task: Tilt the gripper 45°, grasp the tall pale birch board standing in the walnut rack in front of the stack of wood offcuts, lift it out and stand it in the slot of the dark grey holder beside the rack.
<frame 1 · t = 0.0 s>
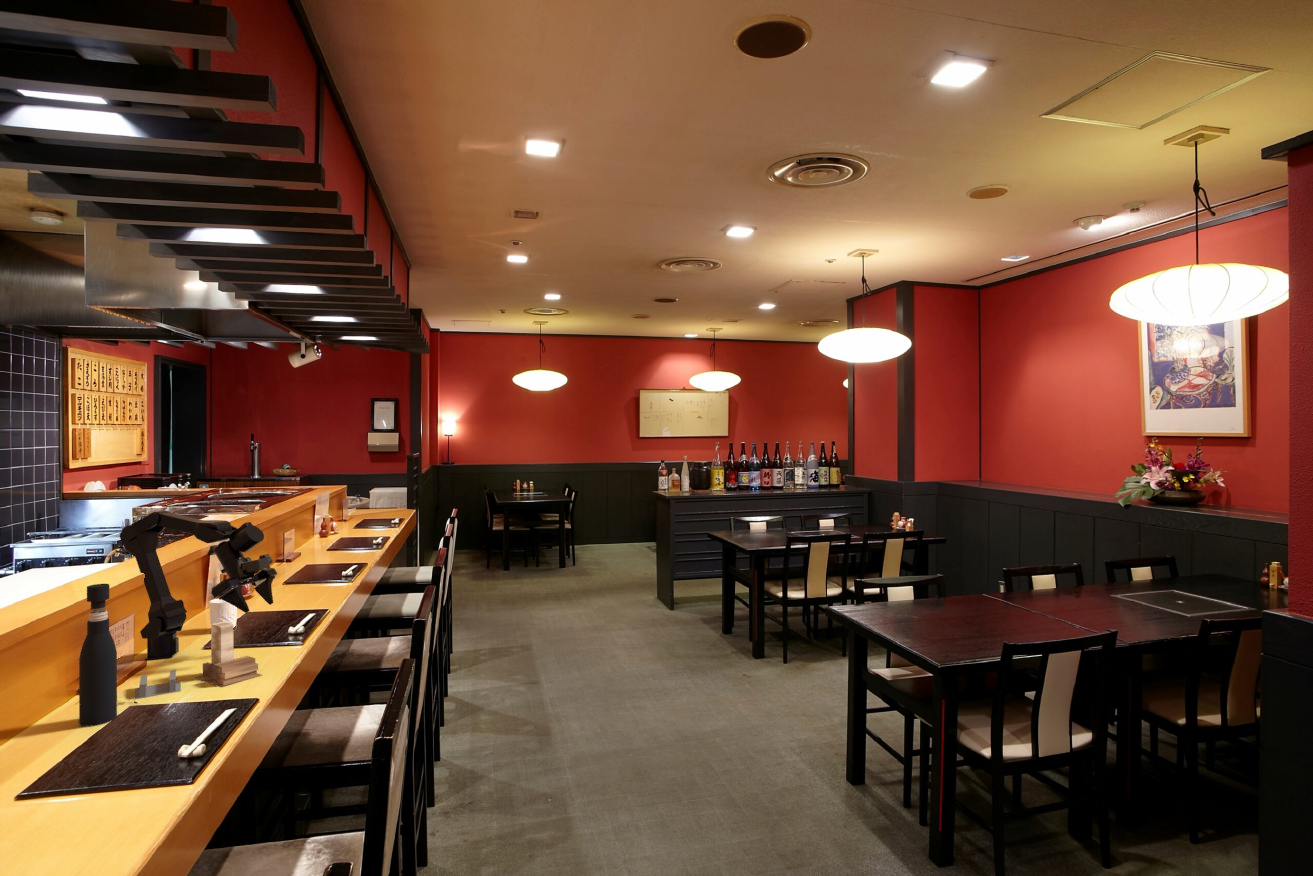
hand: (260, 607, 188), 15 cm above the worktop, tool tilted 35°, fingers open, 9 cm apart
grey holder: (158, 693, 164), on the worktop
white cup: (223, 631, 218), on the worktop
offcut stack: (236, 678, 171), point 1 cm above the worktop, touching walnut rack
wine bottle: (98, 721, 148), on the worktop
birch board: (222, 674, 174), point 1 cm above the worktop, touching walnut rack
walnut rack: (222, 677, 174), on the worktop
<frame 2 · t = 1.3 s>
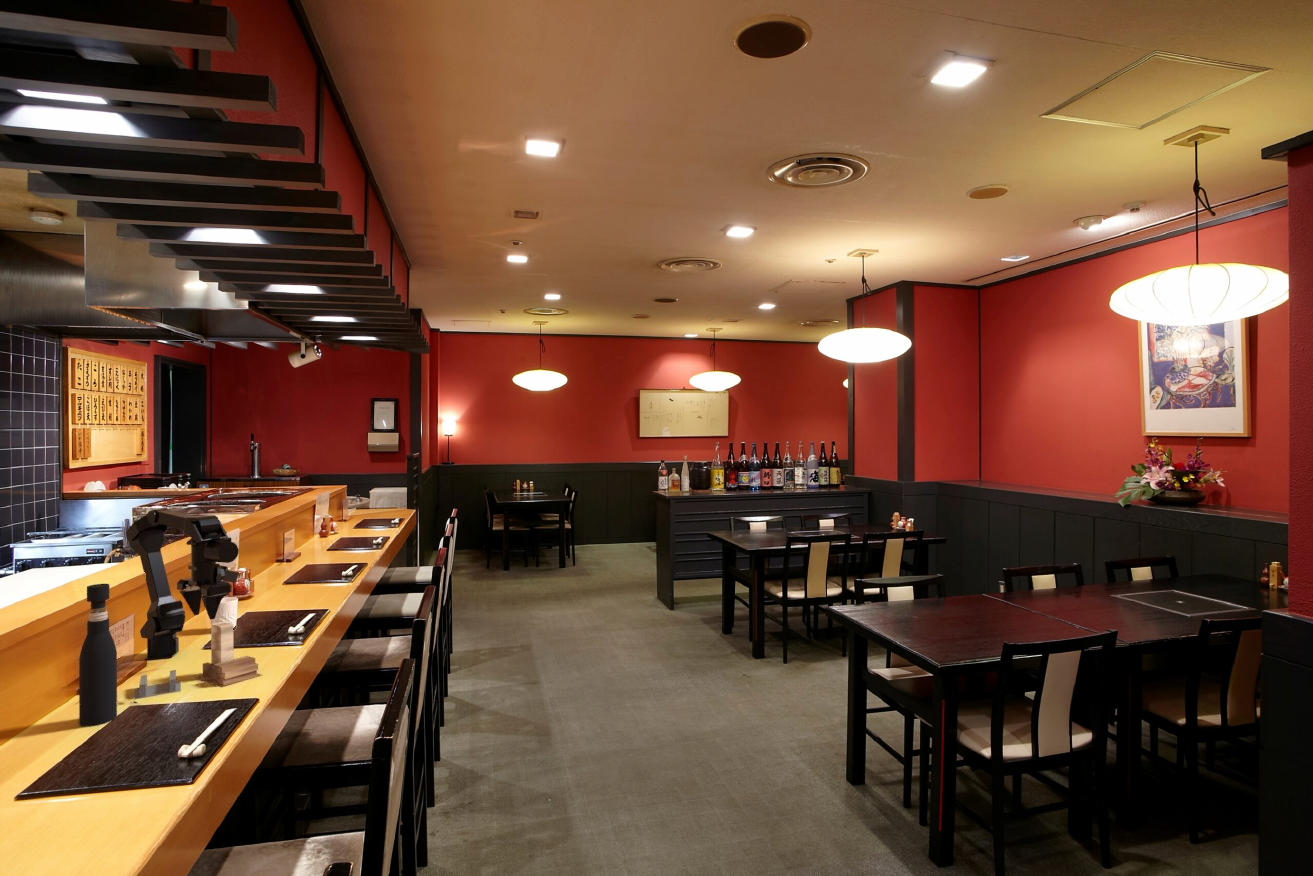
hand: (204, 617, 186), 13 cm above the worktop, tool pointing down, fingers open, 9 cm apart
nothing on the worktop moved.
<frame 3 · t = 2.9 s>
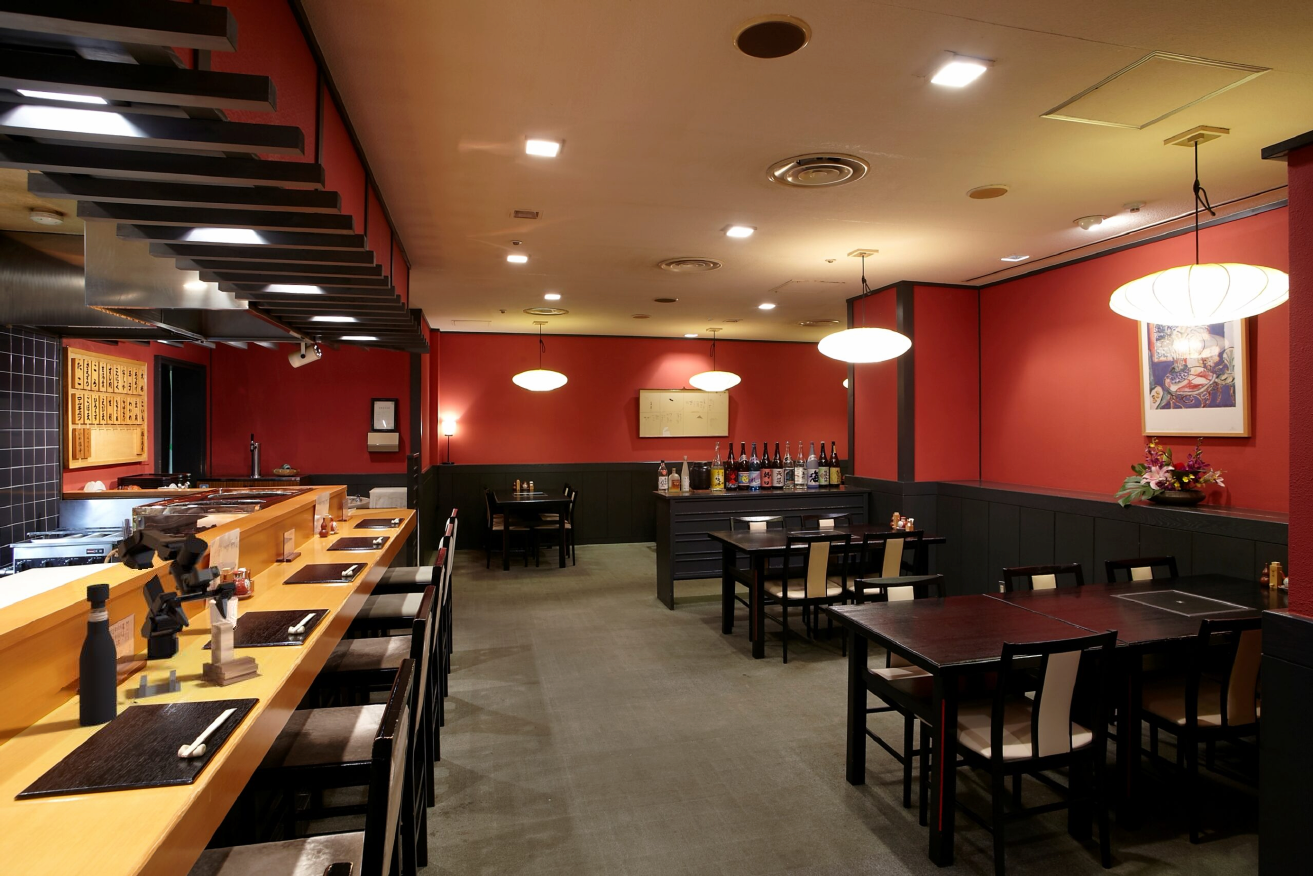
hand: (207, 622, 179), 13 cm above the worktop, tool tilted 45°, fingers open, 9 cm apart
nothing on the worktop moved.
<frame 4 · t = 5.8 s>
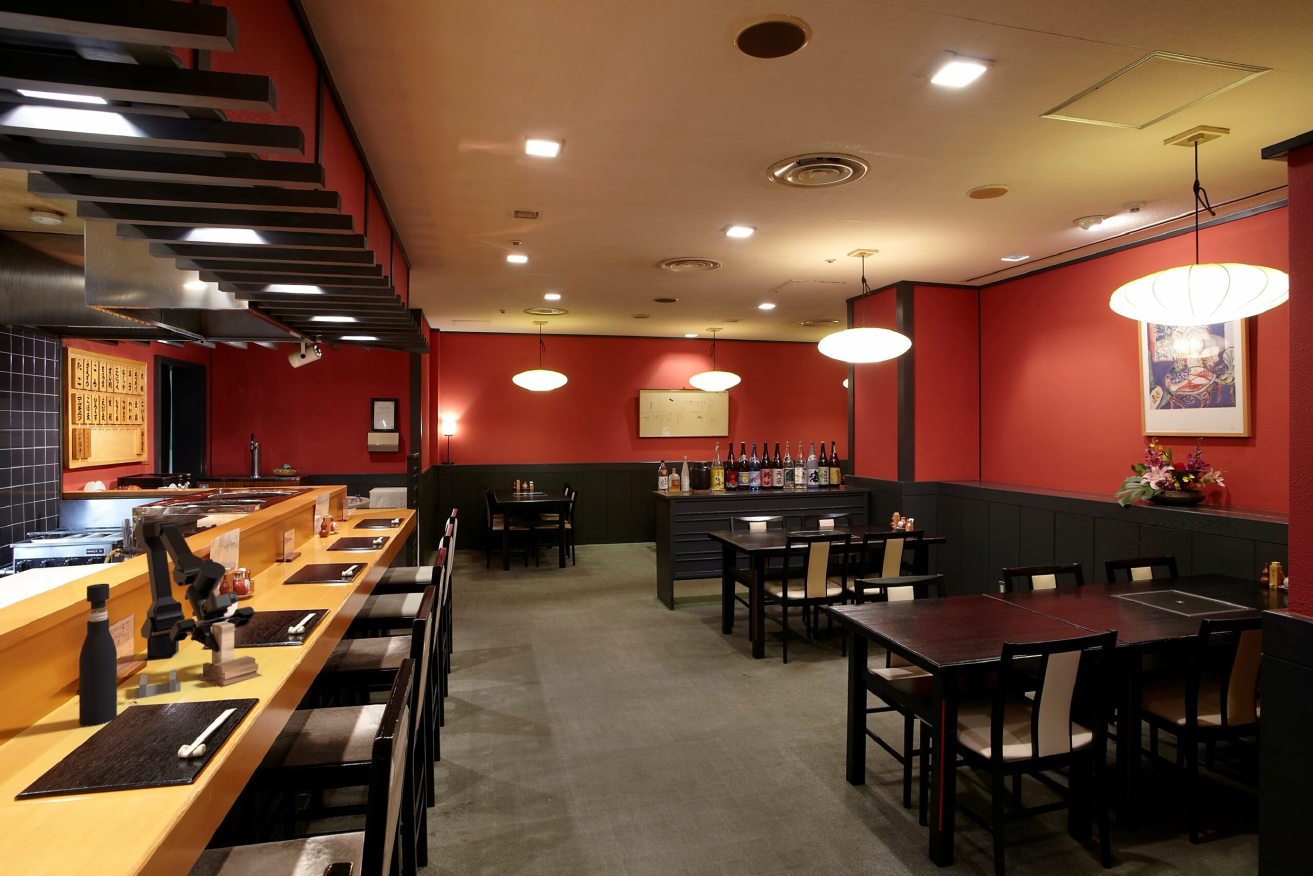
hand: (225, 649, 174), 8 cm above the worktop, tool tilted 45°, fingers closed on birch board, 3 cm apart
birch board: (222, 673, 174), point 1 cm above the worktop, touching gripper, walnut rack
everything else where it was.
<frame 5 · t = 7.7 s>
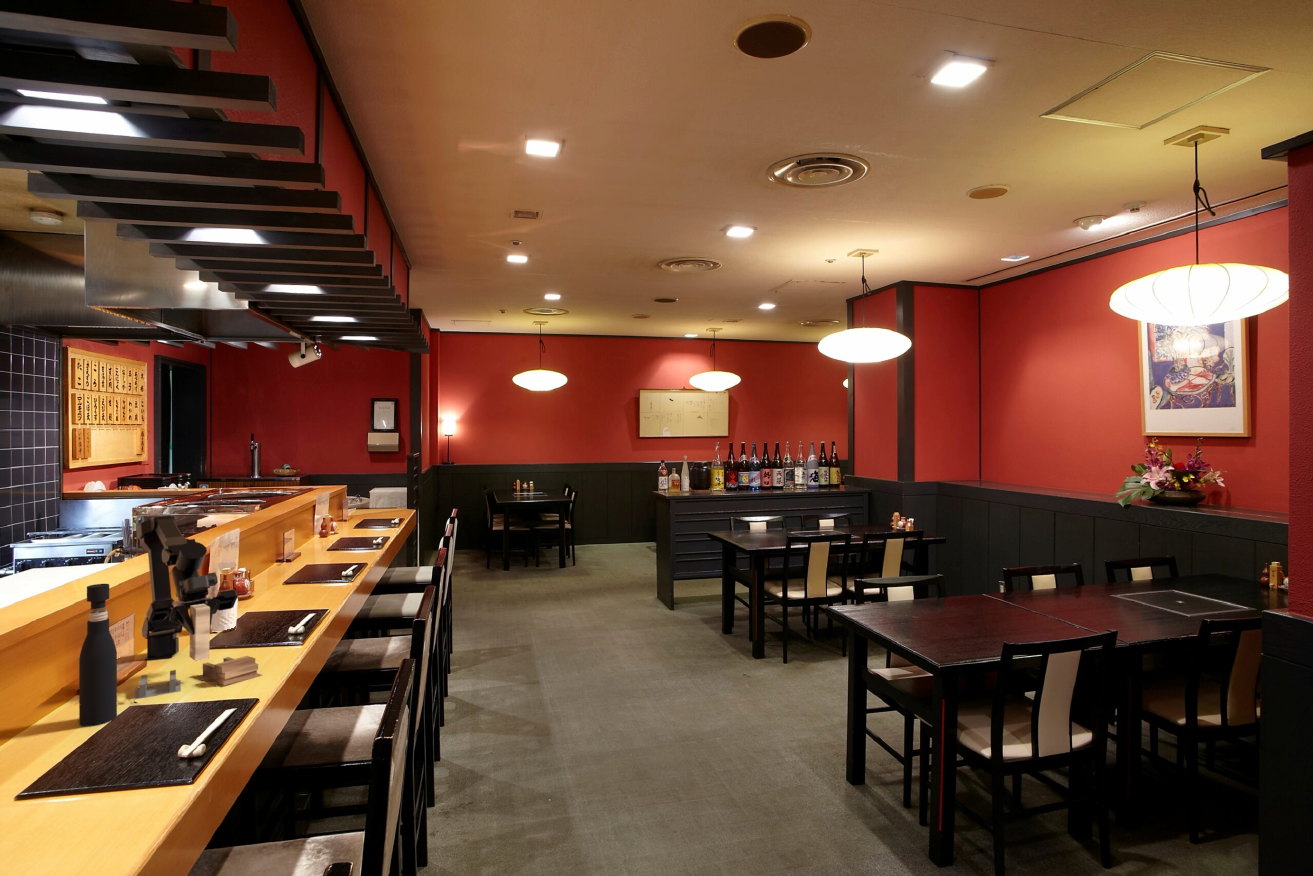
hand: (201, 632, 169), 14 cm above the worktop, tool tilted 45°, fingers closed on birch board, 3 cm apart
birch board: (199, 657, 170), point 7 cm above the worktop, touching gripper
everything else where it was.
when the fingers open (9 cm above the worktop, at t = 9.6 s): birch board drops 1 cm, resting on grey holder.
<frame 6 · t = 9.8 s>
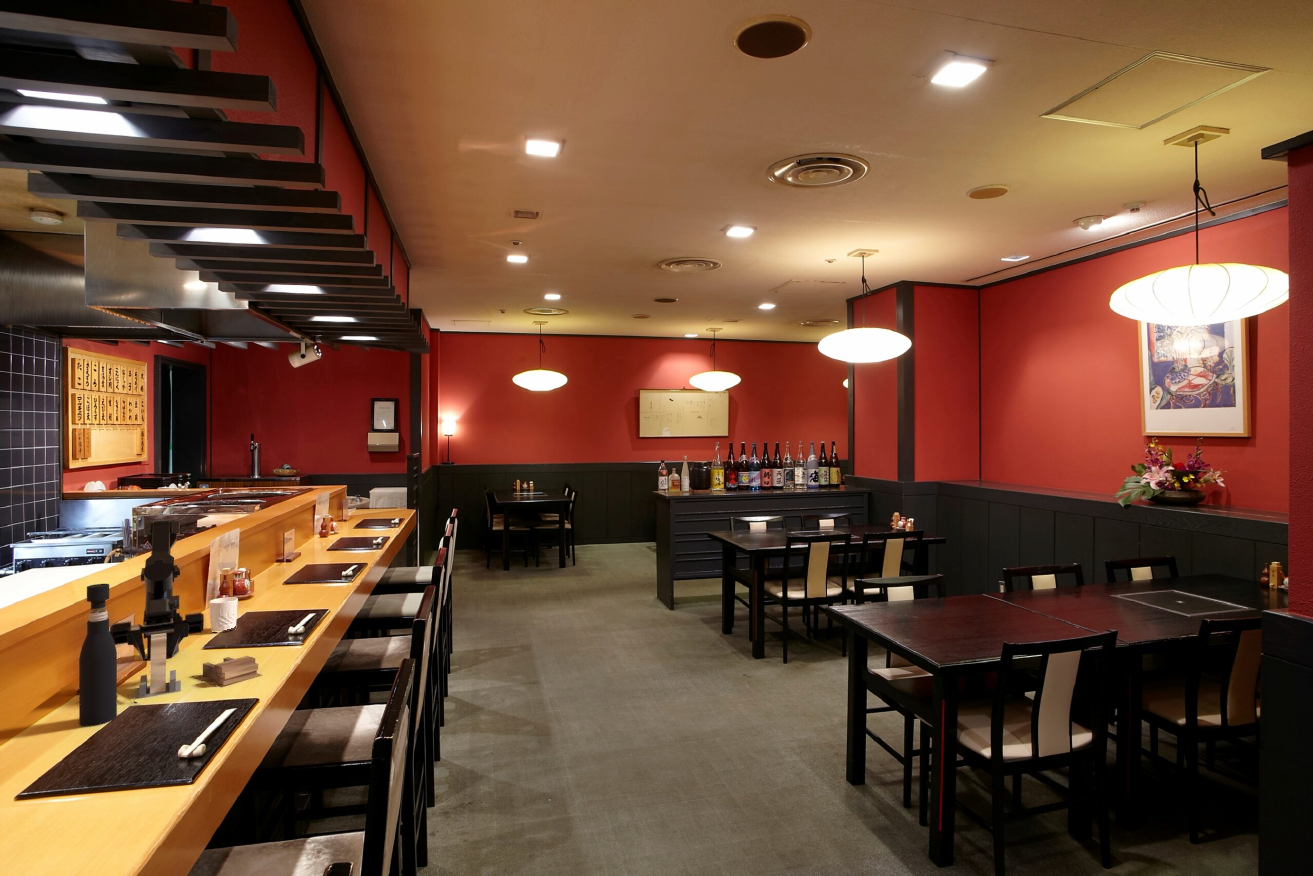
hand: (157, 658, 163), 9 cm above the worktop, tool tilted 45°, fingers open, 5 cm apart
birch board: (157, 689, 164), point 1 cm above the worktop, touching grey holder
everything else where it was.
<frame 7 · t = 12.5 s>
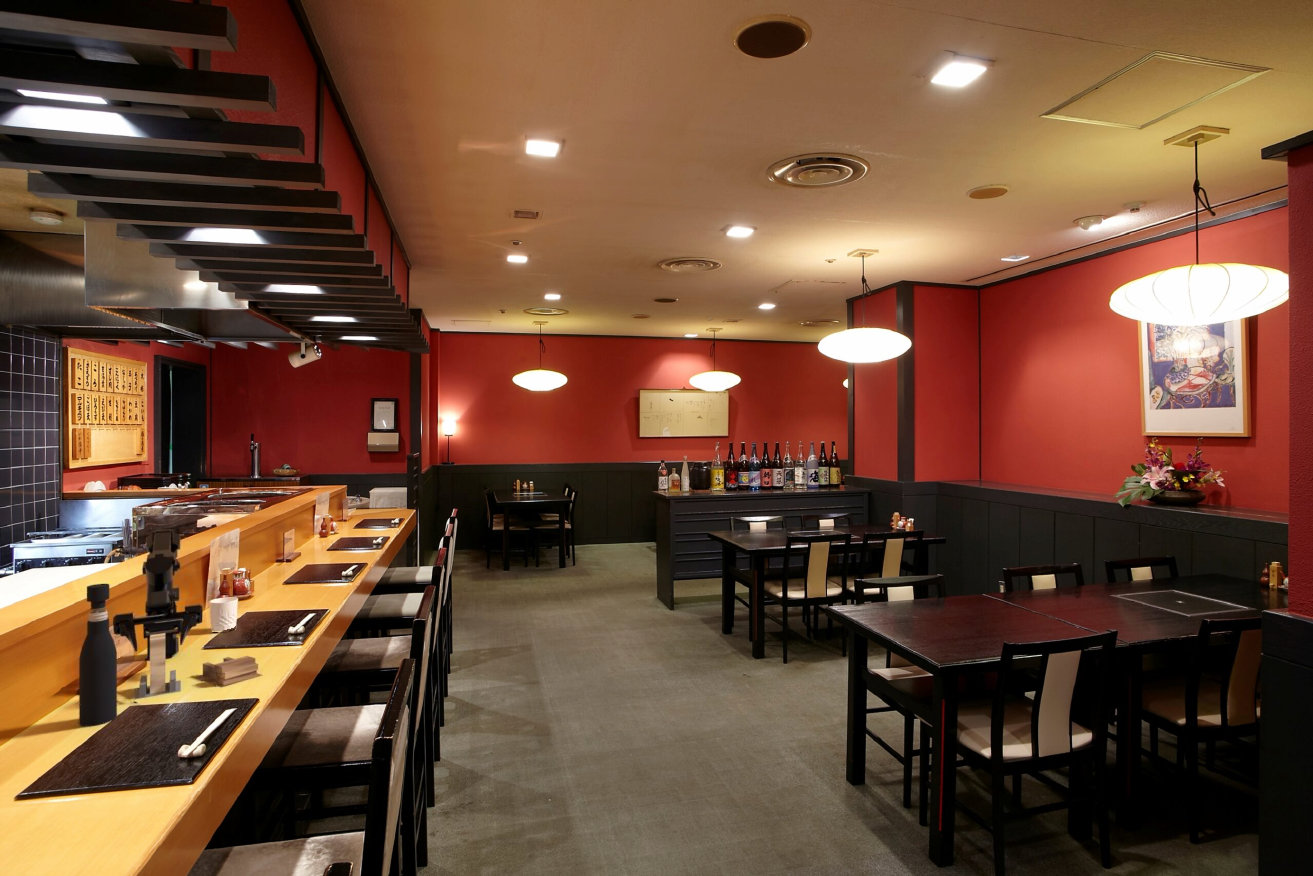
hand: (158, 647, 170), 9 cm above the worktop, tool tilted 45°, fingers open, 9 cm apart
nothing on the worktop moved.
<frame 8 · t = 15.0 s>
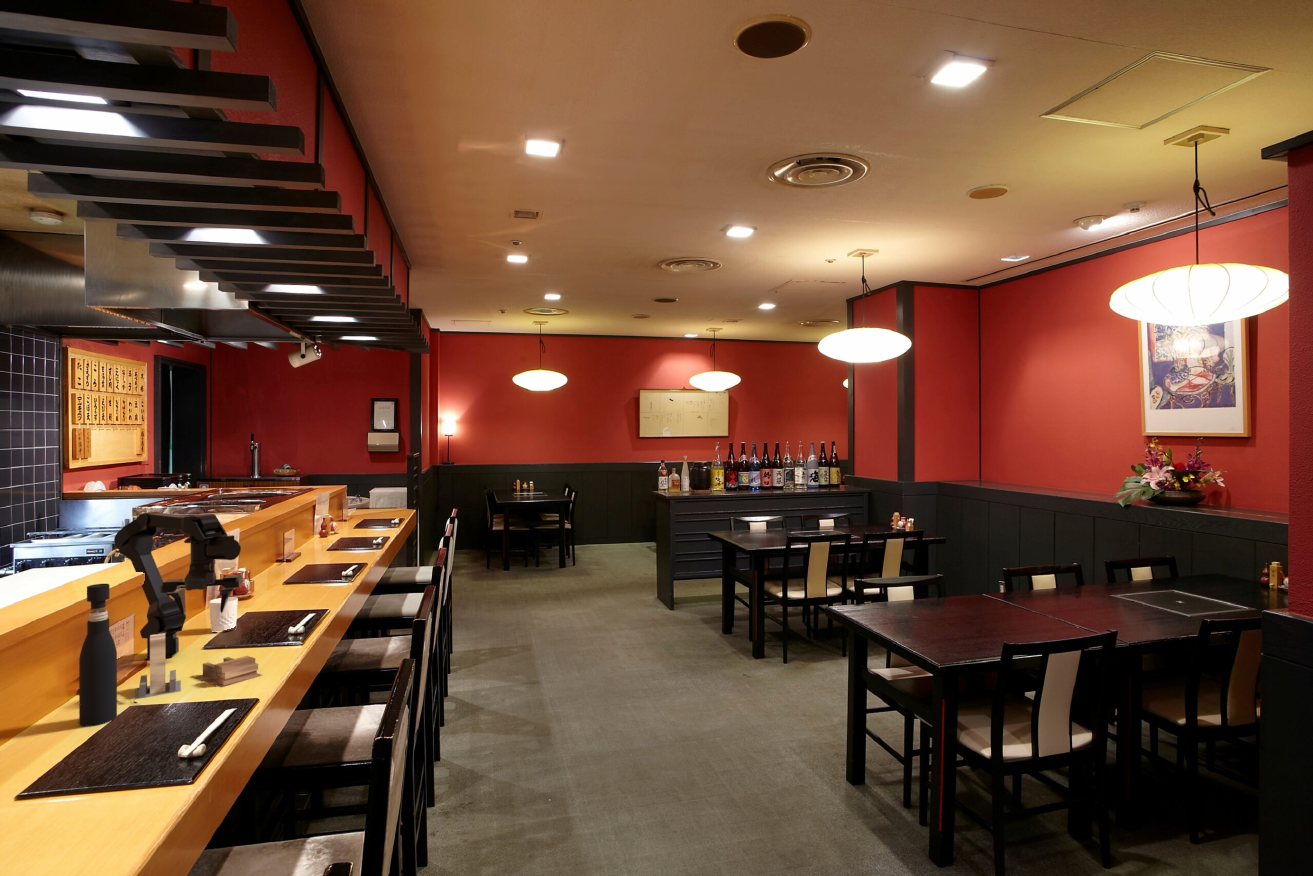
hand: (202, 613, 189), 13 cm above the worktop, tool pointing down, fingers open, 9 cm apart
nothing on the worktop moved.
at the end: birch board 0.1 cm off-centre on the grey holder, point 1.0 cm above the grey holder's base; birch board tilted 0°; offcut stack moved 0.0 cm from its start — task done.
